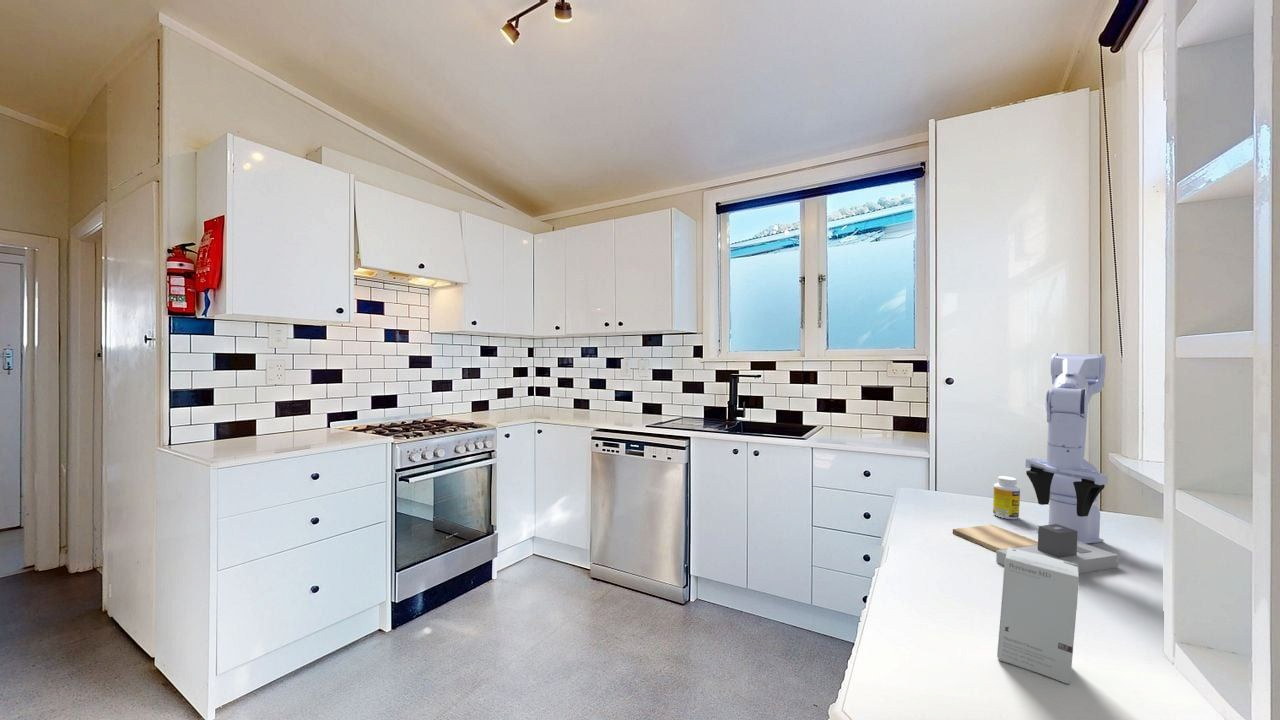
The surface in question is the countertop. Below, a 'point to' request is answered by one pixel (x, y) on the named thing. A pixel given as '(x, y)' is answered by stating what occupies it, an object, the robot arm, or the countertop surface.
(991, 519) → the countertop surface
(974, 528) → the oak board
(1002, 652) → the skincare box
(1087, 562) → the power strip
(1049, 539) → the block
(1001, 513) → the supplement bottle
